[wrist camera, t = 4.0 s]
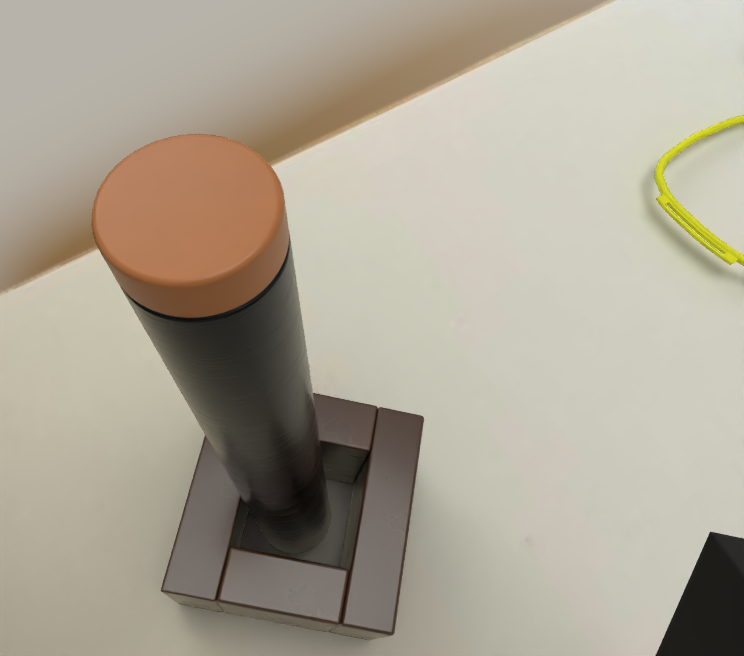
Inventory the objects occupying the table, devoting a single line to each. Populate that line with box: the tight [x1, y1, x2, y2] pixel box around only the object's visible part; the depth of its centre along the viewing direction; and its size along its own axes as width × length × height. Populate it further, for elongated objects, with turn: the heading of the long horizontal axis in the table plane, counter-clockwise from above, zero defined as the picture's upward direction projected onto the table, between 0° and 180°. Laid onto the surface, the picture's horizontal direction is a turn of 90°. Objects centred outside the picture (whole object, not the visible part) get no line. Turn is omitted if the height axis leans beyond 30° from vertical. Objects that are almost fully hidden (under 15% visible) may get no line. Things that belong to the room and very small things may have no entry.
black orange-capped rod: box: [92, 134, 331, 553], centre depth 15 cm, size 2×2×16 cm
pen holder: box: [161, 393, 424, 640], centre depth 21 cm, size 6×6×4 cm
